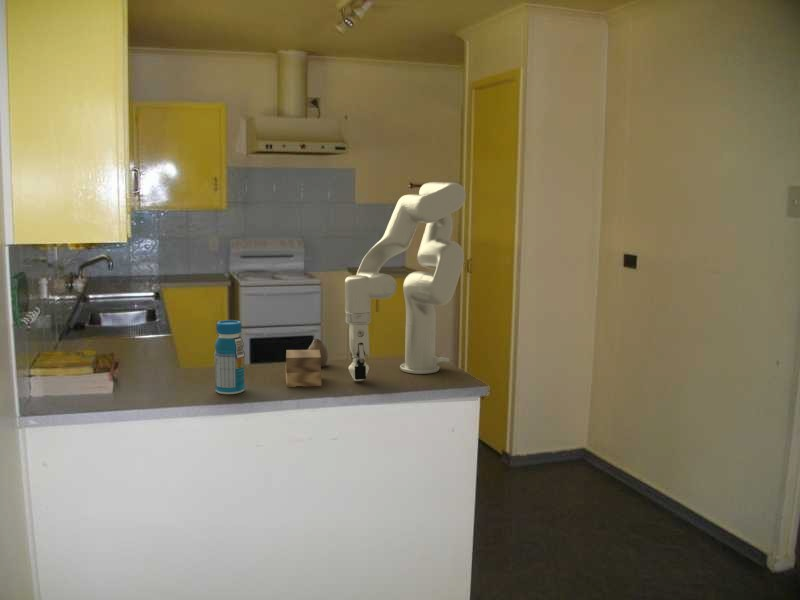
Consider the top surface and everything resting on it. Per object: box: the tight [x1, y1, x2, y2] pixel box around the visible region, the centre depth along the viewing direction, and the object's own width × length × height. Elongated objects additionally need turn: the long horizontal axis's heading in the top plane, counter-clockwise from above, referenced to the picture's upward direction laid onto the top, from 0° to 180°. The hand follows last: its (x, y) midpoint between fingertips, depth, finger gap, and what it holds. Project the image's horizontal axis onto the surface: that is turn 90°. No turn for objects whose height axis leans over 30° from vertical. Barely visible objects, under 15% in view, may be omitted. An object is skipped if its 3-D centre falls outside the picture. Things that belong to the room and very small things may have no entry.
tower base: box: [285, 364, 322, 388], centre depth 226 cm, size 10×10×4 cm
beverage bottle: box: [213, 319, 246, 395], centre depth 214 cm, size 8×8×20 cm
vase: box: [307, 338, 329, 368], centre depth 245 cm, size 7×7×9 cm
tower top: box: [285, 349, 322, 374], centre depth 226 cm, size 10×10×4 cm
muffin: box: [348, 358, 370, 382], centre depth 227 cm, size 6×6×7 cm
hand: (358, 375), depth 228 cm, fingers closed on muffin, 6 cm apart
